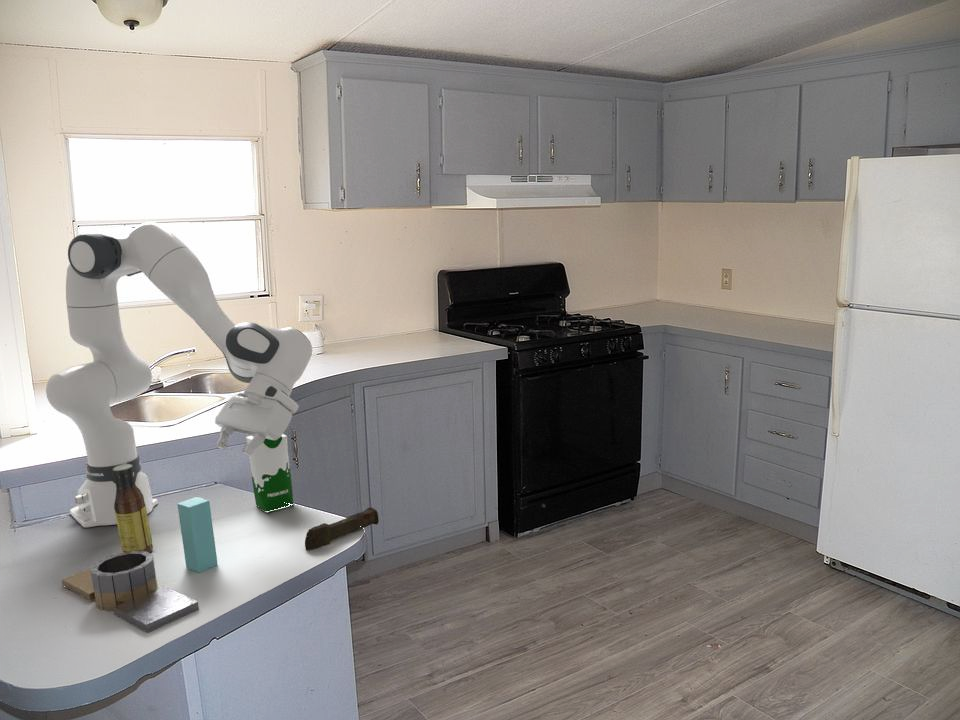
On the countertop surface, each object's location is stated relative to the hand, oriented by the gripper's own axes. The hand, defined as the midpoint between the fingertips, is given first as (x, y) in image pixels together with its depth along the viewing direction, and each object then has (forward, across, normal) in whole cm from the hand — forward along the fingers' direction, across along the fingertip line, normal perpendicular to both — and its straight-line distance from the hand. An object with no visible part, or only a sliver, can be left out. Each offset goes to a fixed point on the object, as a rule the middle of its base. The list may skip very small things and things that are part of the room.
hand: (232, 450), depth 172 cm
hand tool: (+5, +14, +27) cm, 31 cm away
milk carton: (+2, -16, +30) cm, 34 cm away
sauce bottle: (+26, -19, +5) cm, 33 cm away
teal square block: (+23, 0, +8) cm, 24 cm away
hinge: (+34, 0, -3) cm, 34 cm away
